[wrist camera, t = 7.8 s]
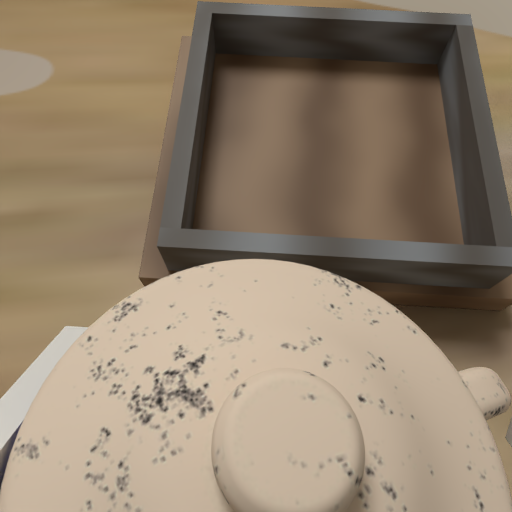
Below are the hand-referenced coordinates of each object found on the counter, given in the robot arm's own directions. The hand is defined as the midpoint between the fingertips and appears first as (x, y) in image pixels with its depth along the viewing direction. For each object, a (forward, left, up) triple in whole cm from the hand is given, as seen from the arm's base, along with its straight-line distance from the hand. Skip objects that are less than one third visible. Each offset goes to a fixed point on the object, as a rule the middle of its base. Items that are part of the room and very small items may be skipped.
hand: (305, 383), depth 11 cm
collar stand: (-2, -15, -12) cm, 19 cm away
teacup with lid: (0, +3, -6) cm, 7 cm away
